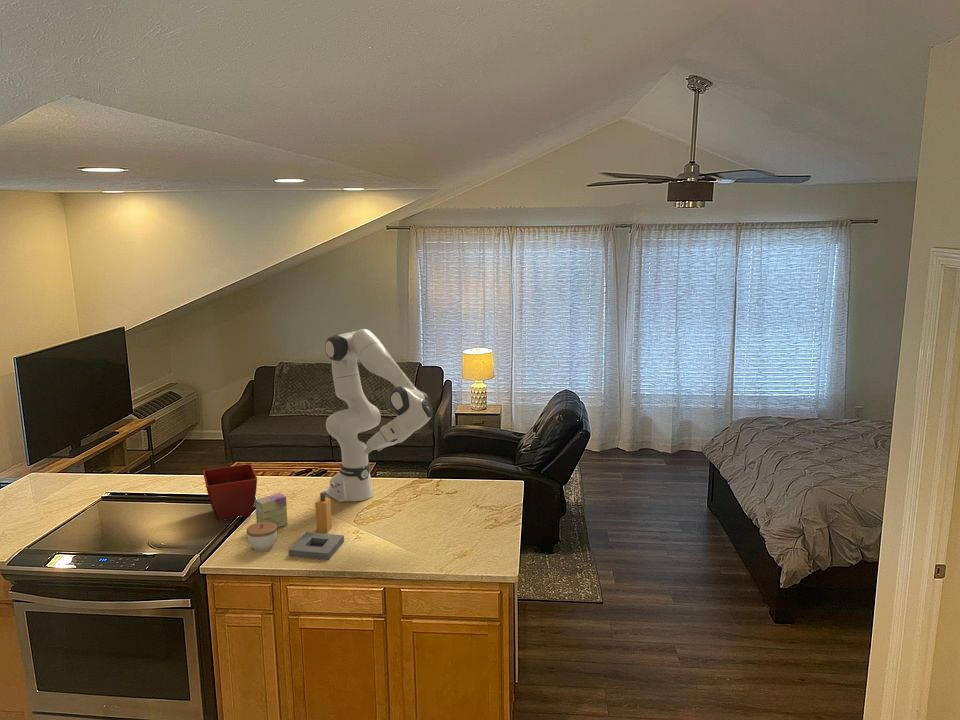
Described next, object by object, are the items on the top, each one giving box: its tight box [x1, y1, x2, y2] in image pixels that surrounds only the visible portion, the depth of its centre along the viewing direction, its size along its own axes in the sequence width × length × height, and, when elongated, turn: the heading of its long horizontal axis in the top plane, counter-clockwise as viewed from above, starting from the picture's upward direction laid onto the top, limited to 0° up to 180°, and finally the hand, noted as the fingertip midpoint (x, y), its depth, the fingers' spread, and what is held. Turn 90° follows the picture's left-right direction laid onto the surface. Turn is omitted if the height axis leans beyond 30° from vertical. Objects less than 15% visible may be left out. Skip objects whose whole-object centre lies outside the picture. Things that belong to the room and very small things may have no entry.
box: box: [254, 492, 288, 529], centre depth 284 cm, size 10×6×12 cm, turn 135°
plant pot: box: [202, 463, 258, 521], centre depth 296 cm, size 19×19×17 cm
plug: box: [314, 491, 333, 534], centre depth 281 cm, size 4×4×15 cm
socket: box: [288, 531, 345, 561], centre depth 266 cm, size 15×15×2 cm
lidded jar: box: [246, 522, 278, 552], centre depth 267 cm, size 11×11×9 cm
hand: (371, 450), depth 282 cm, fingers open, 8 cm apart
